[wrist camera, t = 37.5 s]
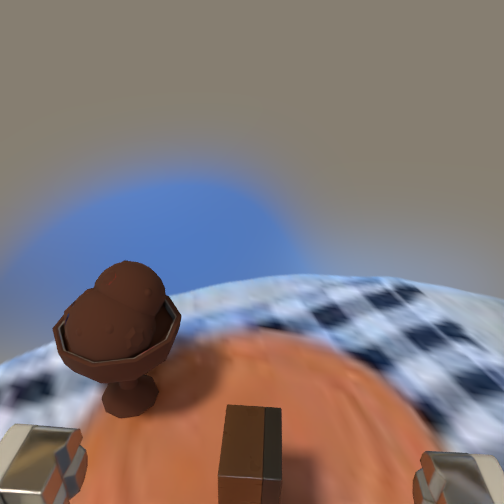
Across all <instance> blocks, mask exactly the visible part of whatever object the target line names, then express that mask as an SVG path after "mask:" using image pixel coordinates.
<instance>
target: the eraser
mask: <svg viewBox="0 0 504 504" xmlns="http://www.w3.org/2000/svg"><path fill="white" fill-rule="evenodd" d="M281 485H282V412H281V408H273V407H259V406H243V405H227V408H226V416H225V424H224V432H223V439H222V447H221V455H220V463H219V470H218V504H280V494H281Z"/></svg>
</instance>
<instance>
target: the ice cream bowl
mask: <svg viewBox="0 0 504 504" xmlns="http://www.w3.org/2000/svg"><path fill="white" fill-rule="evenodd" d="M180 321H181V314H180V313H179V311H178V310H177V308H176V306H175V305H174V303H173V302H172V300H171V299H170V297H169V296H167V295H166V294H165V287H164V285H163V283H162V280H161V279H160V277H159V276H157V274H156V273H155V272H154V271H153V270H152V269H151V268H149V267H147V266H146V265H144V264H141V263H138V262H131V261H123V262H121V263H117V264H114V265H113V266H111V267H109V268H108V269H106V270H104V272H103V273H101V275H100V276H99V277H98V279H97V280H96V282H95V286H94V288H91V289H87V290H86V291H85V292H84V293H83V294H82V295H81V296H79V297H78V298H77V300H76V301H74V302H73V303H72V304H71V305H70V306H69V307H68V308H67V309H66V310H65V311H64V315H63V316H62V317H61V319H60V320H59V321H58V323H57V324H56V325H55V326H54V327H53V332H54V337H55V341H56V345H57V350H58V354H59V355H60V357H61V359H62V360H63V362H64V364H65V365H66V366H68V367H69V368H70V369H71V370H73V371H74V372H76V373H78V374H81V375H83V376H85V377H88V378H90V379H92V380H95V381H97V382H99V383H109V384H108V386H107V388H106V390H105V392H104V394H103V396H102V401H103V404H104V407H105V411H106V412H108V413H110V414H112V415H114V416H116V417H119V418H125V417H132V416H139V415H140V414H142V413H143V412H144V411H146V410H147V409H149V408H150V407H152V406H153V405H154V403H155V400H156V398H157V395H158V393H159V391H158V389H157V386H156V384H155V382H154V380H153V378H152V377H150V376H147V375H145V373H147V372H148V371H150V370H151V369H153V368H155V367H156V366H158V365H159V364H161V363H162V362H164V361H165V360H166V358H167V356H168V354H169V352H170V350H171V347H172V345H173V342H174V340H175V338H176V335H177V333H178V330H179V327H180Z"/></svg>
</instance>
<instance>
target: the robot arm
mask: <svg viewBox="0 0 504 504" xmlns="http://www.w3.org/2000/svg"><path fill="white" fill-rule="evenodd" d="M82 438H83V437H82V434H81V431H80V429H76V428H64V427H51V426H39V425H28V424H14V425H13V426H12V427H11V428H10V429H9V430H8V431H7V432H6V434H5V435H4V437H3V438H2V440H1V442H0V504H70V502H69V500H70V499H71V498H73V497H74V496H75V495H76V494H77V493H78V492H80V489H81V487H82V484H83V482H84V479H85V475H86V470H87V466H88V456H87V452H86V449H84V448H83V447H82V446H81V445H80V443H81V441H82ZM420 462H421V465H422V468H421V469H420V470H418V471H417V472H415V476H414V479H413V499H414V504H504V473H503V471H502V468H501V466H500V464H499V462H498V460H497V459H496V458H495V457H494V456H492V455H482V454H468V453H456V452H436V451H425V452H424V453H423V454H422V456H421V459H420Z"/></svg>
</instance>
